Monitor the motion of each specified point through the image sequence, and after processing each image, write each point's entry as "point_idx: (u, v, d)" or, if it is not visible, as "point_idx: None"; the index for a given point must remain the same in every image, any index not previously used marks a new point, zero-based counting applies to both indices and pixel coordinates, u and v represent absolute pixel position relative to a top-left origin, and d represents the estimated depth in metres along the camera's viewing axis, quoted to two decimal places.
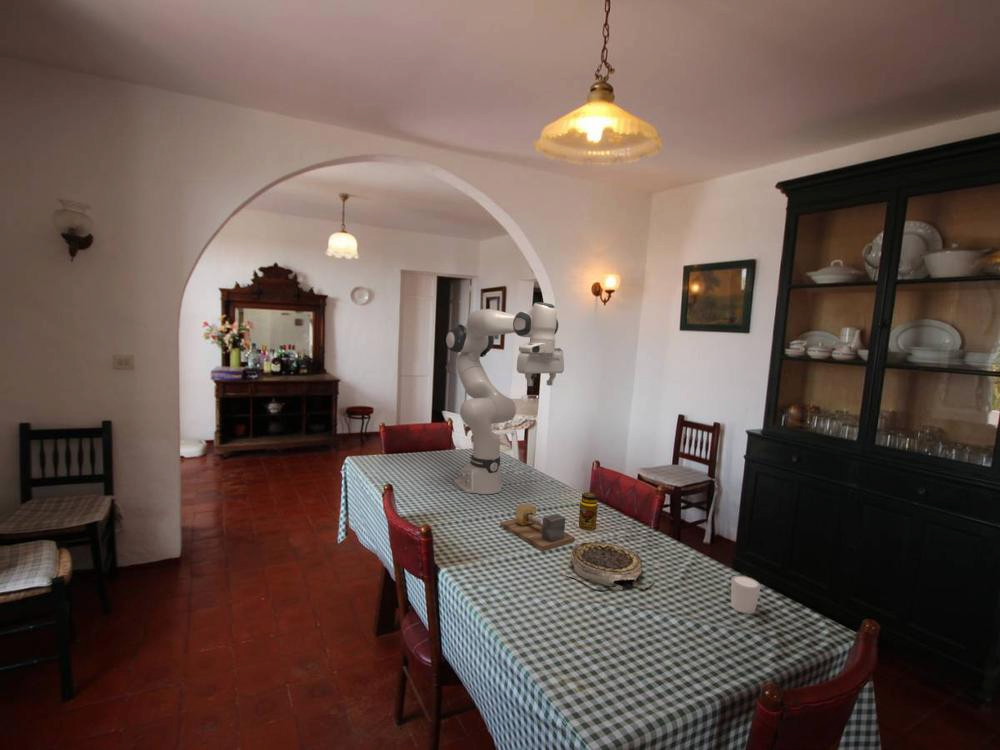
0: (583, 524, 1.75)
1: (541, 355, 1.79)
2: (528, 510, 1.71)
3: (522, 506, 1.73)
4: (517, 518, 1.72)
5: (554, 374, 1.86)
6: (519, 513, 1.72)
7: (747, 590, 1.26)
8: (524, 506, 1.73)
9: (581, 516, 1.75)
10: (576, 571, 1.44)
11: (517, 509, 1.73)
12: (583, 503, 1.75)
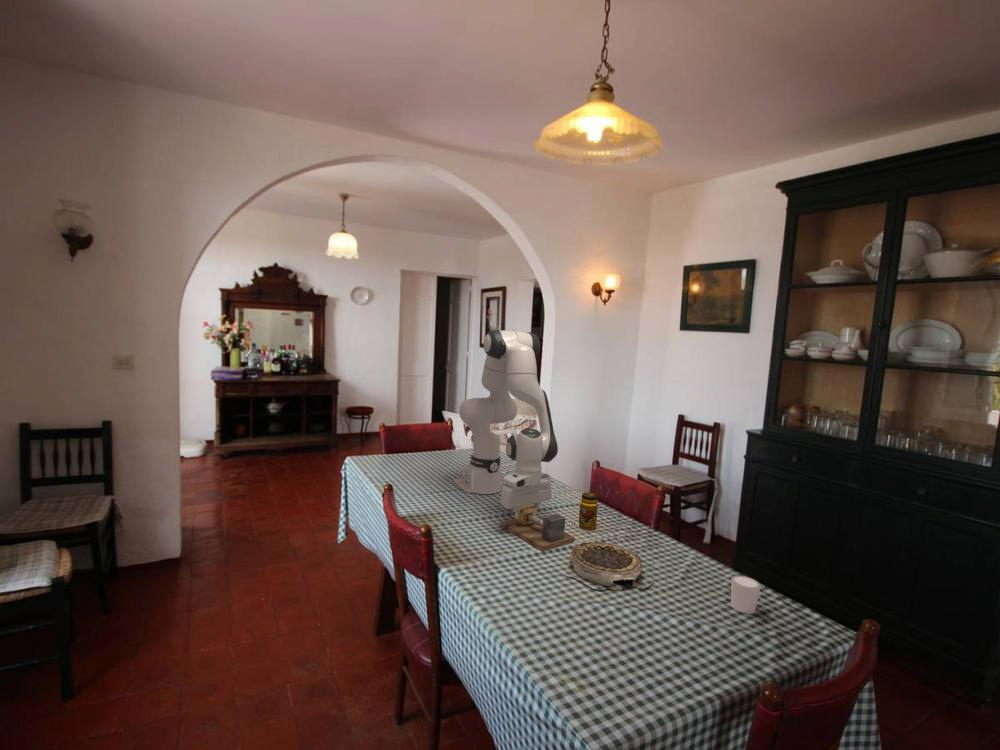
0: (583, 524, 1.75)
1: (526, 487, 1.69)
2: (528, 510, 1.71)
3: (522, 506, 1.73)
4: None
5: (538, 503, 1.75)
6: None
7: (747, 590, 1.26)
8: (524, 506, 1.73)
9: (581, 516, 1.75)
10: (576, 571, 1.44)
11: None
12: (583, 503, 1.75)
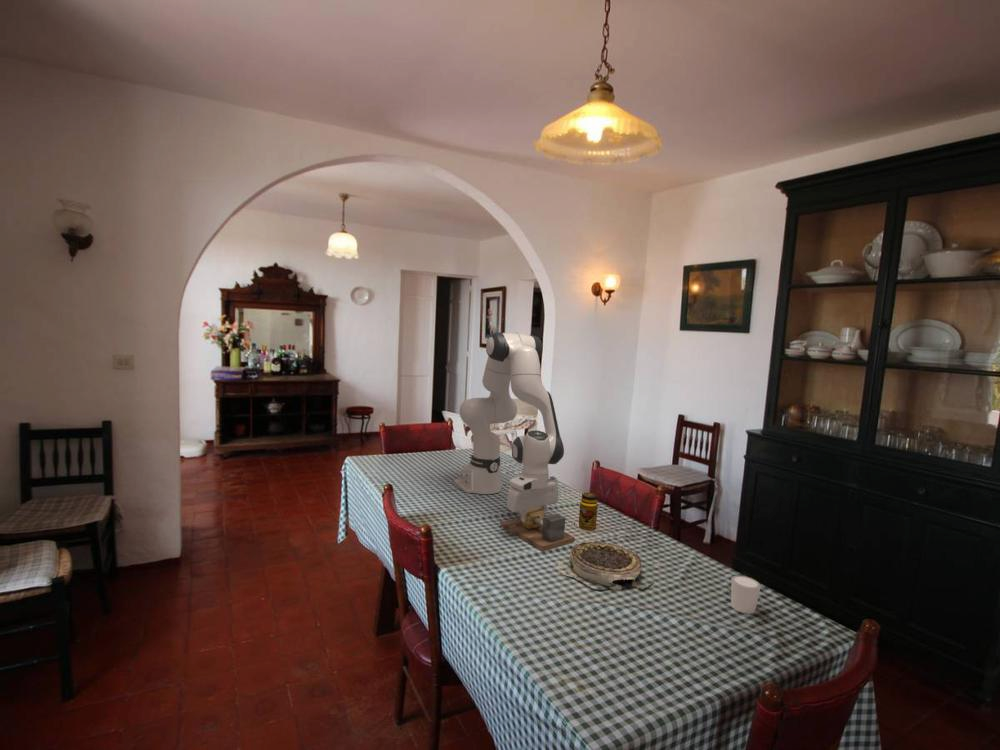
0: (583, 524, 1.75)
1: (533, 490, 1.67)
2: (535, 514, 1.69)
3: (529, 509, 1.70)
4: (524, 522, 1.70)
5: (545, 506, 1.72)
6: None
7: (747, 590, 1.26)
8: (531, 509, 1.70)
9: (581, 516, 1.75)
10: (575, 571, 1.44)
11: None
12: (583, 503, 1.75)
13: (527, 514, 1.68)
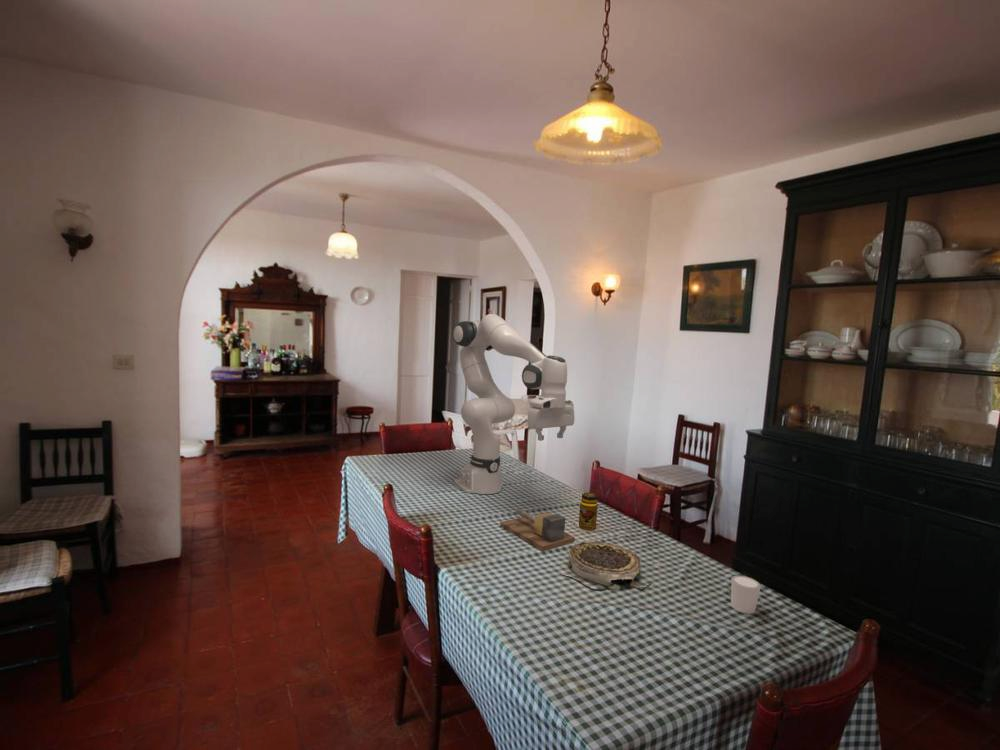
0: (583, 524, 1.75)
1: (552, 410, 1.78)
2: None
3: (541, 515, 1.65)
4: (536, 528, 1.65)
5: (564, 427, 1.84)
6: (538, 523, 1.64)
7: (747, 590, 1.26)
8: (543, 515, 1.65)
9: (581, 516, 1.75)
10: (574, 570, 1.44)
11: (536, 519, 1.65)
12: (583, 503, 1.75)
13: (539, 520, 1.63)
